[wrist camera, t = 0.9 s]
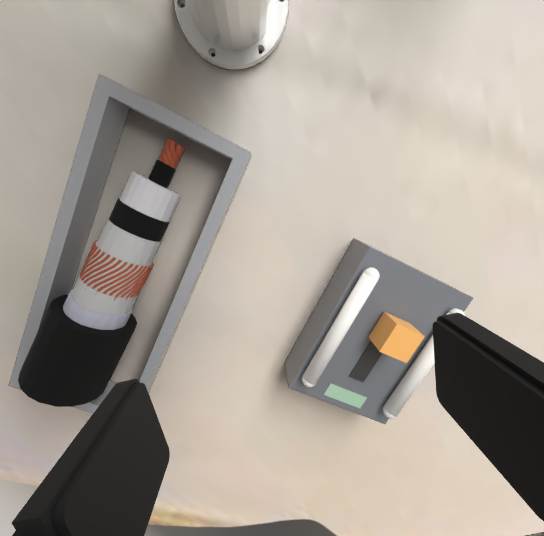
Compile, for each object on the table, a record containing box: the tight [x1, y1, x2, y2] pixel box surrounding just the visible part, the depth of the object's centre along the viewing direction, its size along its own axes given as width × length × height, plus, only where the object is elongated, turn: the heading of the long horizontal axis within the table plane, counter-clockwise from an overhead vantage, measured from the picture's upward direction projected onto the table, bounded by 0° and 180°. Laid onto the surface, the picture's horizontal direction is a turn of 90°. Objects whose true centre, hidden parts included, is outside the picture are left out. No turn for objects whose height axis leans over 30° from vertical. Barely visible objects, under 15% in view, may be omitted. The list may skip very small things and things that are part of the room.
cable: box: [18, 139, 185, 407], centre depth 36 cm, size 10×34×10 cm, turn 149°
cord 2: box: [383, 308, 465, 419], centre depth 39 cm, size 18×2×2 cm, turn 154°
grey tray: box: [9, 74, 251, 413], centre depth 38 cm, size 41×17×5 cm, turn 154°
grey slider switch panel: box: [285, 238, 473, 424], centre depth 41 cm, size 22×16×6 cm
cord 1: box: [302, 267, 380, 387], centre depth 36 cm, size 18×2×2 cm, turn 154°
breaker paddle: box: [369, 312, 425, 363], centre depth 36 cm, size 4×4×4 cm
